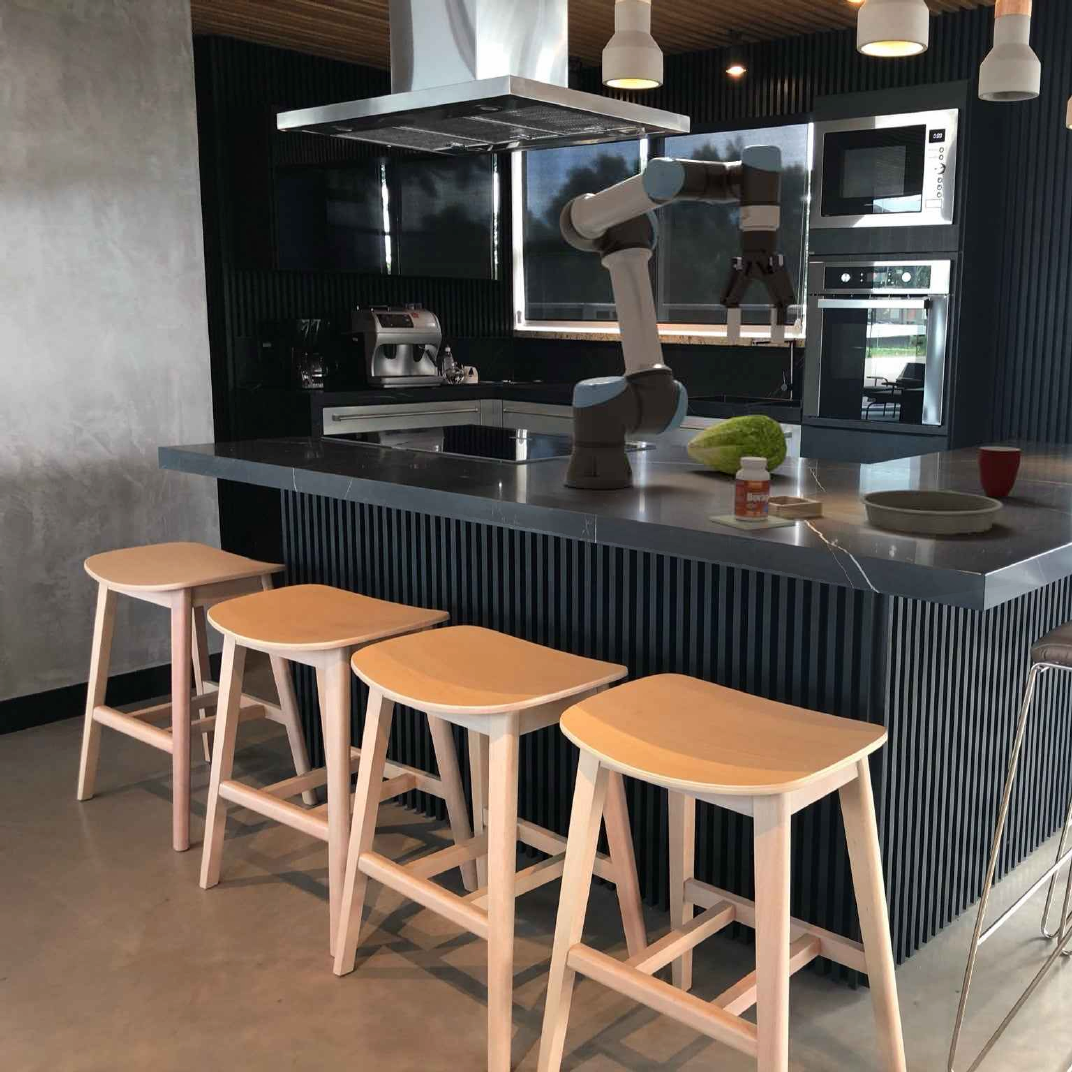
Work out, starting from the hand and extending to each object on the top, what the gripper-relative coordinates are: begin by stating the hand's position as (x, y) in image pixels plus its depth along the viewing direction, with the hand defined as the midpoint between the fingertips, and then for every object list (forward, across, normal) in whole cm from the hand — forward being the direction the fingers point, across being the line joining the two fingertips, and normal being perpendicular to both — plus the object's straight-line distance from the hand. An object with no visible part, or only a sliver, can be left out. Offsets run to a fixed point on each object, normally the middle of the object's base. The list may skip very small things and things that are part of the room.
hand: (754, 342), depth 225 cm
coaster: (+32, +18, -14) cm, 39 cm away
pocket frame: (+32, +13, -2) cm, 34 cm away
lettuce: (+32, -36, +24) cm, 54 cm away
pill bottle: (+31, +18, -13) cm, 38 cm away
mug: (+32, +17, +52) cm, 63 cm away
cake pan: (+32, +33, +15) cm, 48 cm away
